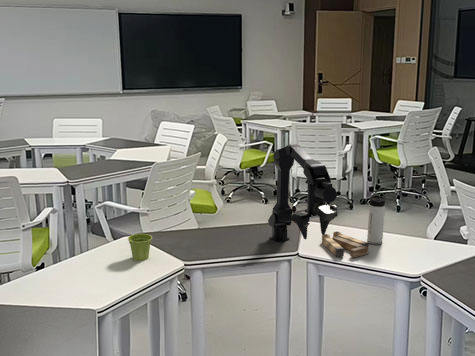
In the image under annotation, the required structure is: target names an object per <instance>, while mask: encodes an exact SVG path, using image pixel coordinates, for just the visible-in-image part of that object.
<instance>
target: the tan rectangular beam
mask: <svg viewBox="0 0 475 356" xmlns="http://www.w3.org/2000/svg"><path fill="white" fill-rule="evenodd" d="M331 238H332V239H333V240H334V241H335V242H337V243H338V244H339V245H340V246H341V247H343V248H344V250H347V251H349V254H350V255H349V256H350V257H351V258H354V259H355V258H358V257H361V256H362V257H363V256H364V255H368V254H369V246H370V244H369V243H368V242H367V241H364V240H361V239H358V238H356V237H355V238H354V237H352V236H348V235H346V234H343V233H342V232H341V231H333V232H332V237H331Z"/></svg>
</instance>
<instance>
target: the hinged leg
mask: <svg viewBox="0 0 475 356" xmlns="http://www.w3.org/2000/svg"><path fill="white" fill-rule="evenodd" d="M332 238H333V237H331V236H330V234H327V233H325V235H322V234H321V244H322V245H323V246H324V247H325V248H327V249H328V251H330V252H331V253H332V254H333V255H334V256H335V257H337V258H340V257H342V258H343V257H345V255H344V254H345V249H344V248H343V247H341V246H340V245H339V244H338V243H337V242H335V241H334V240H333V239H332Z"/></svg>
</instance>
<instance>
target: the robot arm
mask: <svg viewBox="0 0 475 356" xmlns="http://www.w3.org/2000/svg"><path fill="white" fill-rule="evenodd" d="M273 162H274V163H273V164H274V165H275V167H276V169H277V178H276V179H277V183H276V185H277V187H276V203H275V204H274V206H273V208H272V211H271V214H270V217H269V218H268V221H267V222H268V226H269V227H272V229H271V230H272V231H271V236H269V239H270V240H274V241H275V242H277V243H278V242H283V241H287V240H290V239H291V238H290V237H288V226H291V225H292V222H293V223H295V224H296V225H297V227H298V229H299V231H300V233H301V235H302V238H303V239H304V240H307V238H308V226H309V225H310V223H309V221H310V219H314V218H319V225H320V232H321V236H322V235H325V234H326V232H327V229H328V226H329V224H330V222H332V220H335V218H336V217H338V206H336V205H335V204H333V205H327V204H326V203H329V204H330V203H333V202H335V200H336V199H337V196H338V192H337V189H336V188H335V187H333V183H332V180H331V176H330V175H329V171H328V169H327V166H326V164H324V163H323V162H322V161H319V160H316V159H313V158H312V157H311V156H310V155H309V154H308V153H307V152H306V151H304V150H303V148H301V145H300V144H298V143H295V144H293V143H291V144H288V145H286V146H284V147H281V148H278V149H276V150H275V151H274V152H273ZM295 162H296V163H297V164H298V165H299V166H300V167H301V168H302V169H303V172H302V173H303V175H304V176H305V177H306V179H307V180H305V184H307V198H305V199H304V202H305V203H306V204H307V205H306V209H304V213H303V212H294V213H293V208H291V206H290V204H289V194H290V193H289V192H290V191H289V190H290V171H291V169H292V167H293V166H294V164H295Z"/></svg>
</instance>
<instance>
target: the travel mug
mask: <svg viewBox="0 0 475 356" xmlns="http://www.w3.org/2000/svg"><path fill="white" fill-rule="evenodd" d="M368 208H369V209H368V222H367V235H366V236H367V239H366V242H367V243H369V245H373V246H378V245H382V244H383V238H384V224H385V223H384V222H385V211H386V198H385V197H384V196H380V195H379V194H377V195H376V194H374V195H372V196H370V197H369V206H368Z"/></svg>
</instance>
